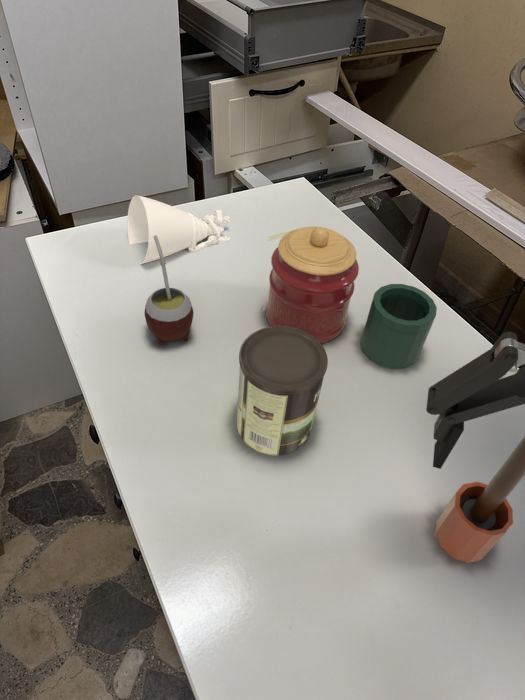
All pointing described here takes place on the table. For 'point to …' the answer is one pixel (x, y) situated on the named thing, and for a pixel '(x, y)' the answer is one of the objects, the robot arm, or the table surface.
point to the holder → (470, 526)
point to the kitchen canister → (312, 282)
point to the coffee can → (279, 388)
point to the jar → (397, 325)
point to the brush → (496, 490)
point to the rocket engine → (171, 227)
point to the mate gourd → (168, 310)
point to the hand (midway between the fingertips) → (507, 477)
